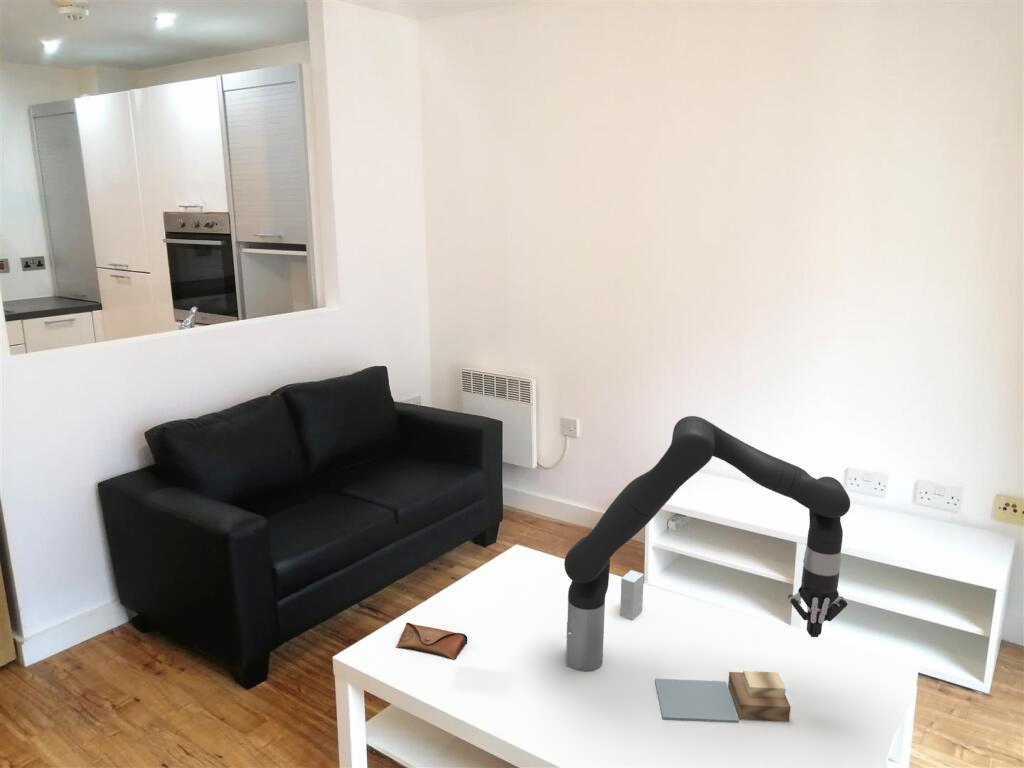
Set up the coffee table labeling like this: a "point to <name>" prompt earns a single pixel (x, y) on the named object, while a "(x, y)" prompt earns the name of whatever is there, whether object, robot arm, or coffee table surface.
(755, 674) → the oak tile
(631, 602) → the skincare box
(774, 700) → the block
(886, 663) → the coffee table surface
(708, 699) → the grey mat
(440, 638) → the sunglasses case
